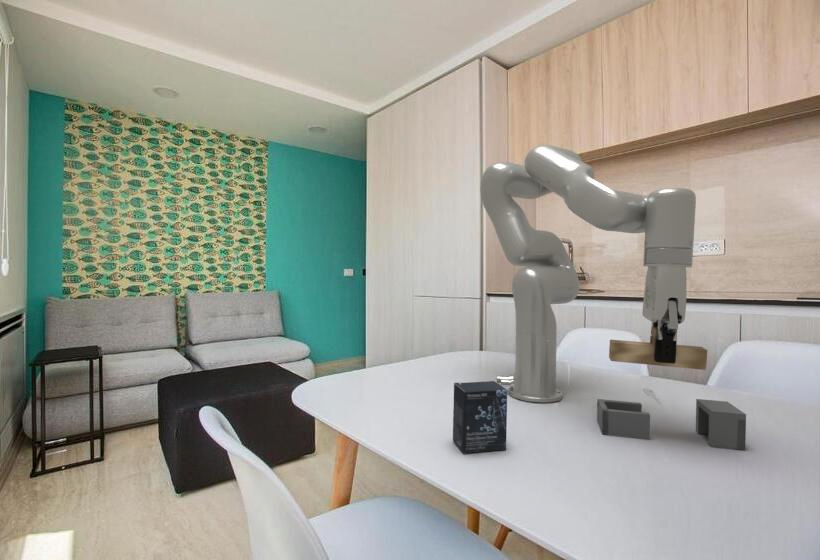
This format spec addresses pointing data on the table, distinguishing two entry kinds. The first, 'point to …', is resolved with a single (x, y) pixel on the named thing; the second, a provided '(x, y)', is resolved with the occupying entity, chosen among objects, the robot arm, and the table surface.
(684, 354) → the slat
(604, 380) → the table surface
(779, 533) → the table surface
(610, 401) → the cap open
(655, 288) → the robot arm
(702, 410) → the channel bracket
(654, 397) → the butter knife
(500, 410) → the box
